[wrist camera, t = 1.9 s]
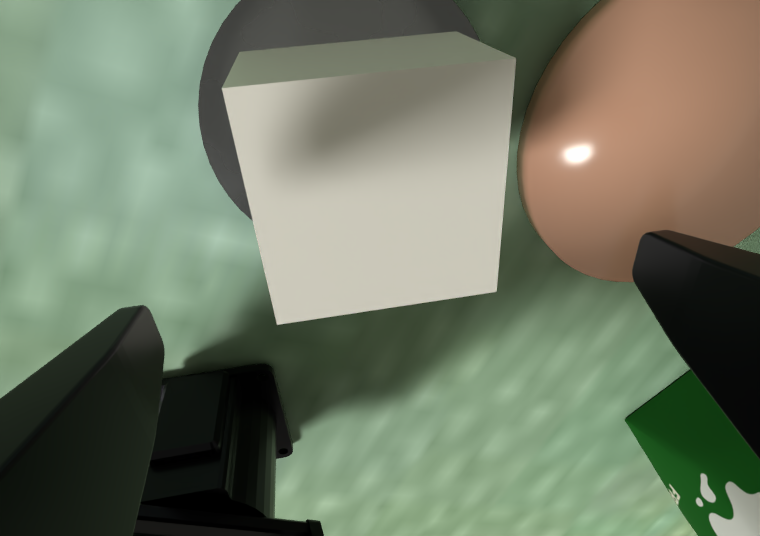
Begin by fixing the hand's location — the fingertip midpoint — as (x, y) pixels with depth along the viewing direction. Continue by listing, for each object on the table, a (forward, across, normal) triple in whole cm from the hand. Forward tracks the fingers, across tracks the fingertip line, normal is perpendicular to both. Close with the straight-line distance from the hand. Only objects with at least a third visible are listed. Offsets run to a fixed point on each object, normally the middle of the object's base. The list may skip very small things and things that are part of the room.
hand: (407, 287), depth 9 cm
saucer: (+10, -13, +2) cm, 17 cm away
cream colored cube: (+8, 0, 0) cm, 8 cm away
